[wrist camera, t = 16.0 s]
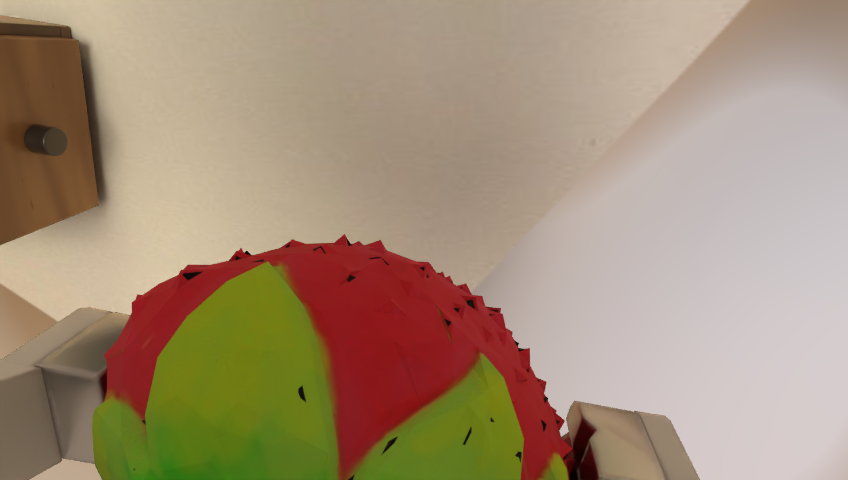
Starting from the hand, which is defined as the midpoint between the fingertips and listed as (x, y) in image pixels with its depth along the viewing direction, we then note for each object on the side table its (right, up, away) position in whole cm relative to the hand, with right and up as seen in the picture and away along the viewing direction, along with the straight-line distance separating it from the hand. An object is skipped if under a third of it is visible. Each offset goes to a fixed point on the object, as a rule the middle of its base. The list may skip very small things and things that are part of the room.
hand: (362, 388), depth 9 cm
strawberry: (+1, +2, +4) cm, 4 cm away
